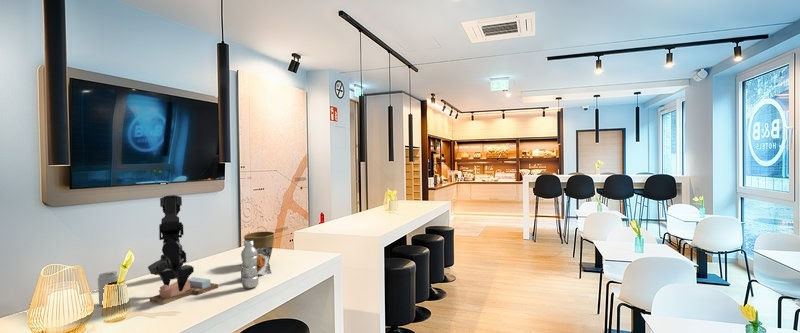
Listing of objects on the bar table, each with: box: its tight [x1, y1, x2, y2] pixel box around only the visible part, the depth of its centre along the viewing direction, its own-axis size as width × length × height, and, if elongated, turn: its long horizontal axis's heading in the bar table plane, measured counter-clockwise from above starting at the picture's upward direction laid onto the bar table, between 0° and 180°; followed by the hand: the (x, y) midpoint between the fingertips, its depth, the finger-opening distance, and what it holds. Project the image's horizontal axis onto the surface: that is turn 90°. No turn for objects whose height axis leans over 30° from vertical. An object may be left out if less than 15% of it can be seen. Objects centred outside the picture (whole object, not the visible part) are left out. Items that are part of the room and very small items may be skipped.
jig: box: [149, 282, 219, 305], centre depth 156 cm, size 15×22×2 cm
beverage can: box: [97, 271, 119, 306], centre depth 147 cm, size 6×6×12 cm
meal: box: [240, 247, 273, 282], centre depth 173 cm, size 15×4×13 cm, turn 152°
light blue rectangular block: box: [187, 276, 212, 289], centre depth 161 cm, size 10×4×4 cm, turn 66°
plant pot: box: [243, 231, 275, 264], centre depth 195 cm, size 15×15×16 cm
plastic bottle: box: [240, 240, 260, 289], centre depth 160 cm, size 6×7×20 cm
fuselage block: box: [158, 280, 191, 299], centre depth 153 cm, size 4×10×6 cm, turn 155°
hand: (173, 289), depth 152 cm, fingers open, 9 cm apart
